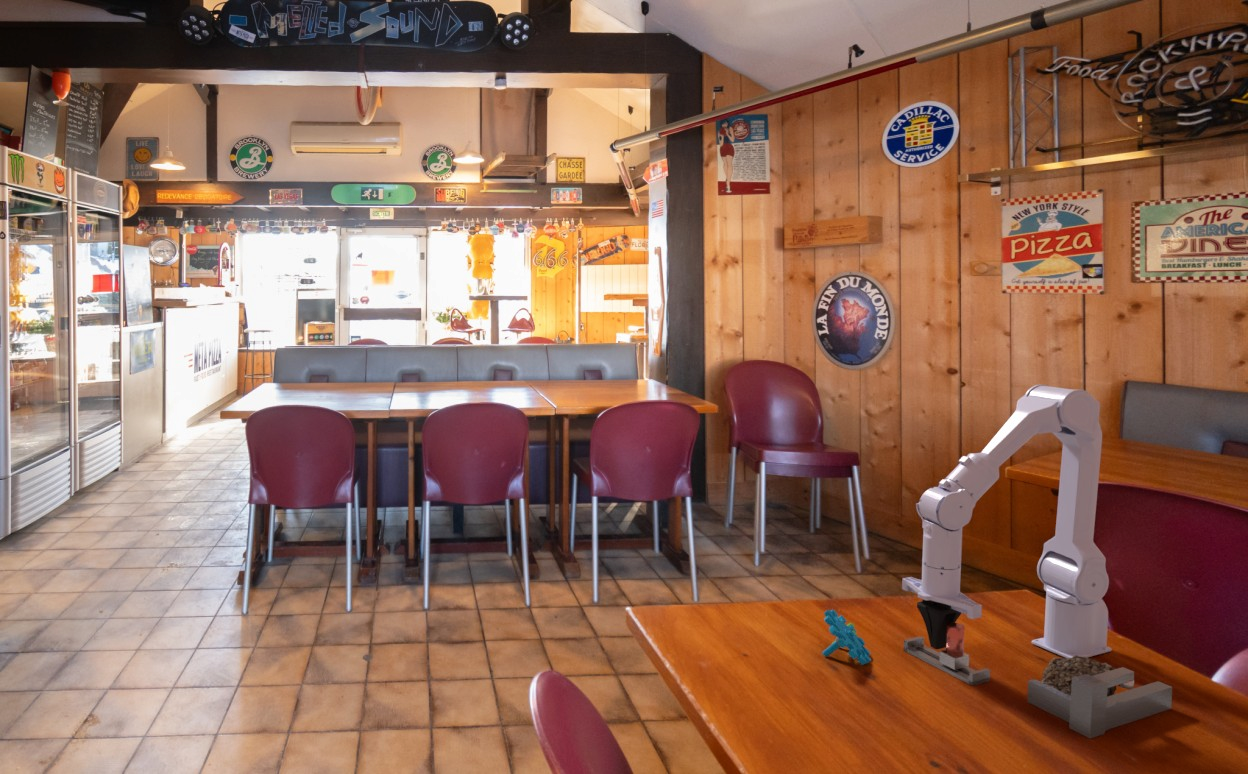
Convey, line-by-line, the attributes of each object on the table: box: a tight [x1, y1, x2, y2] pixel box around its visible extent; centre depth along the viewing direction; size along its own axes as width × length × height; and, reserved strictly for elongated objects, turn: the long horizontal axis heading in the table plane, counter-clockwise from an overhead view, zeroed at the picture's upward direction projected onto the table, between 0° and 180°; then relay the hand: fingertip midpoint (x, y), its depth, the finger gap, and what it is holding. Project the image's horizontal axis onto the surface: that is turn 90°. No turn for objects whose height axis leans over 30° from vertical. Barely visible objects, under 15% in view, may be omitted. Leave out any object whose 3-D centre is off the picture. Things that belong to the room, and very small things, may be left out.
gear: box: [822, 608, 872, 666], centre depth 133 cm, size 11×6×10 cm
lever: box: [939, 622, 970, 670], centre depth 128 cm, size 3×3×6 cm
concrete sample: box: [1040, 655, 1118, 697], centre depth 118 cm, size 12×10×5 cm
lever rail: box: [903, 636, 991, 686], centre depth 130 cm, size 4×14×2 cm, turn 25°
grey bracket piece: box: [1027, 667, 1174, 739], centre depth 116 cm, size 18×10×7 cm, turn 115°
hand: (938, 647), depth 131 cm, fingers closed
